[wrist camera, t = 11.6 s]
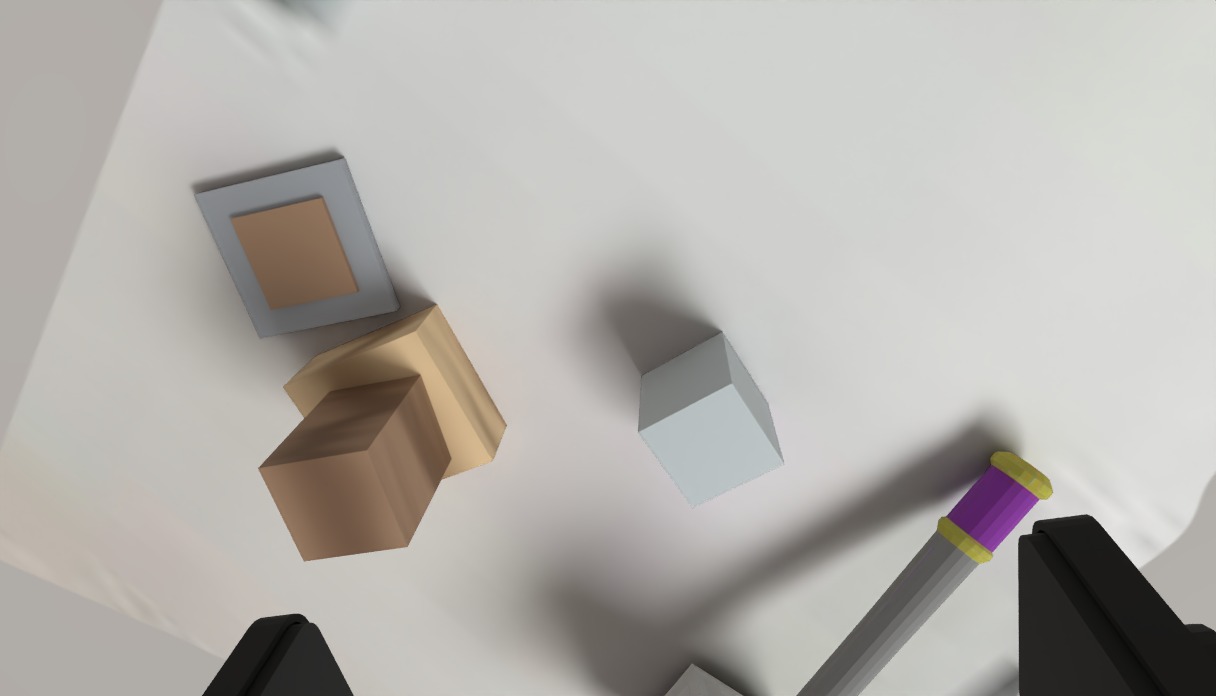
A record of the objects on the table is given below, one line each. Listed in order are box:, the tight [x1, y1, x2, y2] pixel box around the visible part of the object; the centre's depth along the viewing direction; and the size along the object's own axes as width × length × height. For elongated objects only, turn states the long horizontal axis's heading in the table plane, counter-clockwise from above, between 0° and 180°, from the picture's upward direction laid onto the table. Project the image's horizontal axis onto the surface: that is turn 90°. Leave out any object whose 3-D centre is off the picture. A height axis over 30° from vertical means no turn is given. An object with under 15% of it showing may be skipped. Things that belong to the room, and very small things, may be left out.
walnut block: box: [258, 375, 452, 561], centre depth 34 cm, size 5×5×7 cm
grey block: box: [638, 332, 784, 508], centre depth 37 cm, size 5×5×6 cm
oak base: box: [283, 305, 507, 480], centre depth 39 cm, size 8×8×4 cm
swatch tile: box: [194, 158, 400, 338], centre depth 37 cm, size 8×8×1 cm
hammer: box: [665, 452, 1053, 696], centre depth 40 cm, size 15×8×30 cm
